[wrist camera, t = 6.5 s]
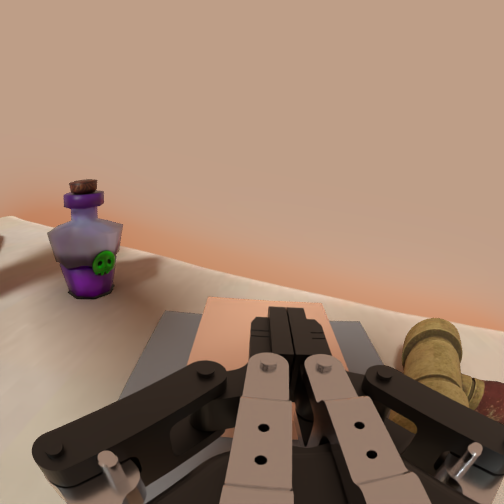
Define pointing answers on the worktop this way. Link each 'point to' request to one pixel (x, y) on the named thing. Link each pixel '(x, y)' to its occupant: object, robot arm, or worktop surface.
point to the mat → (176, 357)
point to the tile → (246, 334)
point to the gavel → (446, 371)
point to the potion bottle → (86, 243)
